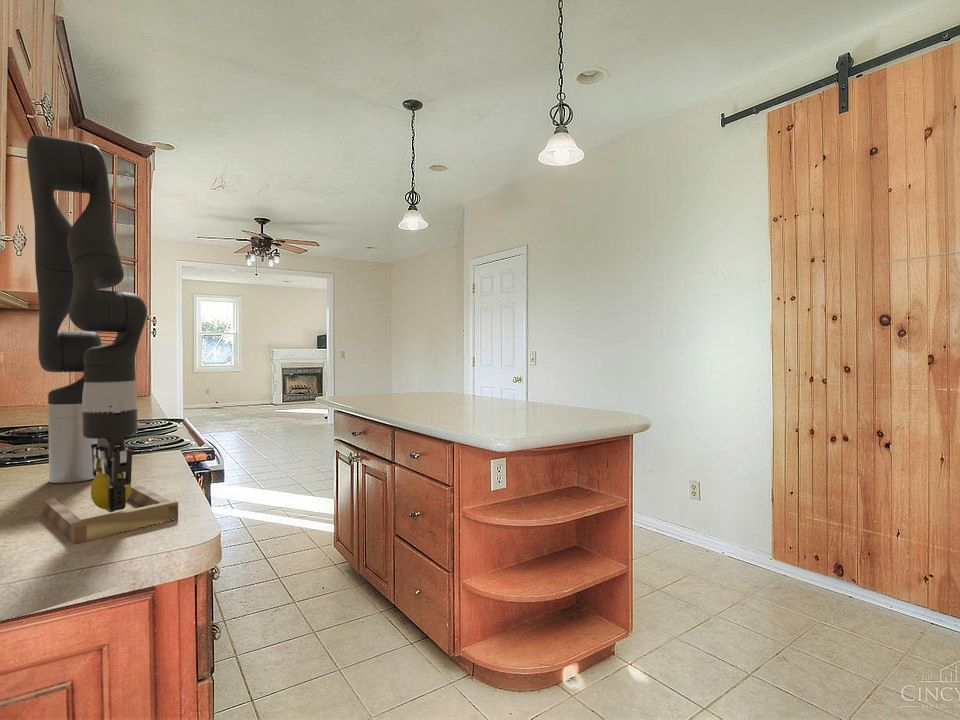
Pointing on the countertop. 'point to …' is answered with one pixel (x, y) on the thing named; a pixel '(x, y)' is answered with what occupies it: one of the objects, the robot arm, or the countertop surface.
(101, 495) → the lemon
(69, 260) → the robot arm
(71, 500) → the countertop surface
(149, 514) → the brown wooden u-shaped frame
